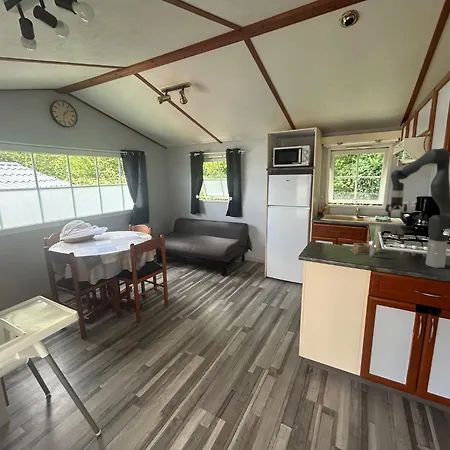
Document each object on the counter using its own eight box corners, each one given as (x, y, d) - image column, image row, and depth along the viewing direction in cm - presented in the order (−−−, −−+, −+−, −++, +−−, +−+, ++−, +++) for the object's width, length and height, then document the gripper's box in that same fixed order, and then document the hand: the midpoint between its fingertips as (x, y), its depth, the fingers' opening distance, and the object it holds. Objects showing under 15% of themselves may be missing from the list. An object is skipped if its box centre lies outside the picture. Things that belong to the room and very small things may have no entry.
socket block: (372, 254, 189) (373, 246, 188) (356, 254, 190) (356, 246, 189) (366, 250, 200) (366, 242, 199) (350, 249, 202) (350, 242, 201)
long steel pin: (374, 257, 183) (376, 241, 180) (370, 257, 183) (371, 241, 181) (372, 256, 186) (374, 240, 183) (368, 256, 186) (369, 240, 184)
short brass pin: (378, 253, 192) (379, 245, 191) (374, 252, 193) (375, 245, 192) (377, 251, 195) (377, 244, 194) (372, 251, 196) (373, 244, 195)
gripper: (389, 197, 192) (387, 218, 194) (410, 196, 189) (408, 217, 192) (385, 196, 199) (383, 216, 202) (404, 196, 197) (402, 216, 199)
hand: (395, 217), depth 197 cm, fingers open, 8 cm apart
